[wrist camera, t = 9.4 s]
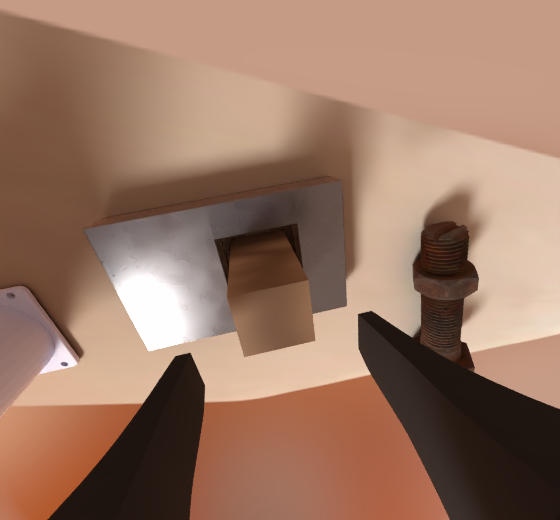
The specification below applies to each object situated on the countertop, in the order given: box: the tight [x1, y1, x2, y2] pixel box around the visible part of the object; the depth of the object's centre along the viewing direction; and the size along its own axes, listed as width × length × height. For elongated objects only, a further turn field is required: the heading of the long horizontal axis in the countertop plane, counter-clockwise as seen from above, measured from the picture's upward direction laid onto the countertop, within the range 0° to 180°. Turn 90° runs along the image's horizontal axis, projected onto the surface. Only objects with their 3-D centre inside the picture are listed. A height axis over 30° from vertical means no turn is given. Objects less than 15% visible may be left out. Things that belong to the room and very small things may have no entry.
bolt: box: [413, 222, 479, 372], centre depth 22 cm, size 6×5×15 cm
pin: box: [227, 229, 315, 357], centre depth 16 cm, size 4×4×8 cm
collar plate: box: [83, 176, 347, 351], centre depth 18 cm, size 16×10×2 cm, turn 98°
